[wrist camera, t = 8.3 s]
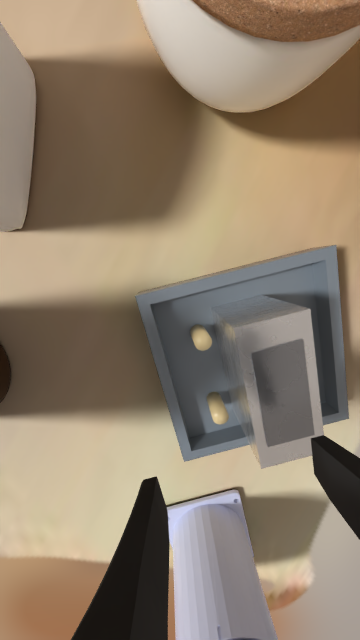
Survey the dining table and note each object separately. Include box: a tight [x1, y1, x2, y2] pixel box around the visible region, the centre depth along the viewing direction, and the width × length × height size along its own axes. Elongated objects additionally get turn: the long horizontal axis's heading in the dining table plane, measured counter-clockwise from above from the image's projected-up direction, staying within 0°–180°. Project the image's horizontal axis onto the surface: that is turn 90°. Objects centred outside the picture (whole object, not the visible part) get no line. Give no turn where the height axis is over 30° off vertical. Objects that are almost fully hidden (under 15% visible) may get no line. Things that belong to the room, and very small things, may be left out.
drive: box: [210, 295, 324, 469], centre depth 15 cm, size 9×4×6 cm, turn 14°
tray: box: [135, 245, 349, 462], centre depth 18 cm, size 14×14×4 cm
